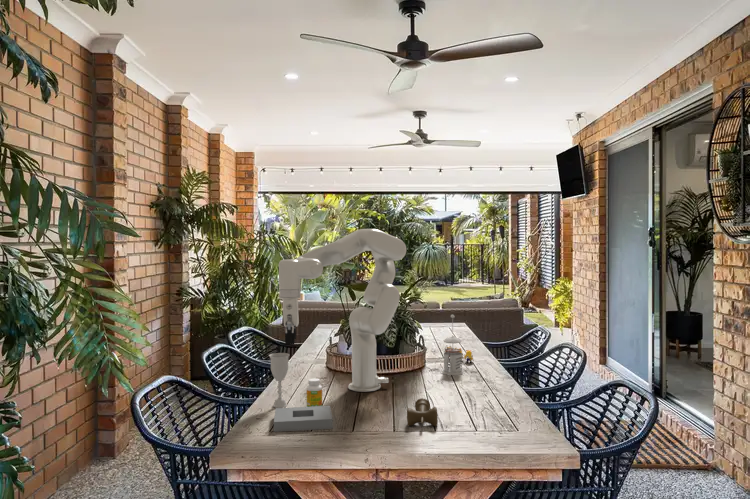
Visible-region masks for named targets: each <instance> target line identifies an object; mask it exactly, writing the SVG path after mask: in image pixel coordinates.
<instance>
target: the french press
mask: <svg viewBox="0 0 750 499" xmlns="http://www.w3.org/2000/svg"><path fill="white" fill-rule="evenodd" d="M455 317H456V316H455V315H454V314H450V318H452V320H451V321H452V324H451V325H452V330H451V331H452V333H454V319H455ZM443 342H444V343H445V344H460V343H462V342H463V340H462V339H461V338H460V337H456V336H449V337H447V338H444V339H443ZM448 347H449V348H448ZM451 347H452V346H451V345H449V346H448V345H446V346H445V348H444V352H443V370H442V371H441V373H442V374H444V375H448V376H449V375H450V376H458V375H459V376H460V375H463V374H465V372H464V370H463V362H461V361H462V360H463V359H460V358H462V356H463V355H462V353H463V352H462V353H460V351H461V350H462V349H461V350H460V348H457V347H452V349H451ZM447 348H448V349H447ZM456 348H457V349H456ZM445 351H446V352H445ZM448 357H449V358H448Z"/></svg>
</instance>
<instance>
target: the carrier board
mask: <svg viewBox="0 0 750 499" xmlns="http://www.w3.org/2000/svg"><path fill="white" fill-rule="evenodd" d="M332 414H333V413H332V408H331V405H322V406H313V407H307V406H298V407H297V406H296V407H295V406H294V407H282V408H276V407H275V411H274V418H273V432H291V431H292V432H293V431H309V430H312V431H313V430H314V431H315V430H326V429H327V430H328V429H329V430H330V429H332V430H333V424H334V423H333V415H332Z"/></svg>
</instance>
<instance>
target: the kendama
mask: <svg viewBox="0 0 750 499" xmlns="http://www.w3.org/2000/svg"><path fill="white" fill-rule="evenodd" d="M414 408H415V409H413V408H410V407H408V408H407V409H406V423H407V426H408V427H412V426H414V425H416V424H418V423H419V424H420V423H421V424H424V423H425V424H426V423H427V424H429V425H431V426H433V427H435V428H436V427H438V423H439V421H438V419H439V417H438V415H439V414H438V409H437V407H436V406H434V407H432V408H431V403H430V401H429V399H426V398H418V399H417V400H416V401H415V403H414Z"/></svg>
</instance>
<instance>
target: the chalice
mask: <svg viewBox="0 0 750 499" xmlns="http://www.w3.org/2000/svg"><path fill="white" fill-rule="evenodd" d="M268 356H269V358H270V371H271V373H272V374H271V375H272V376H273V378H274V380H275V381H276V382H278V384H277V389H278V390H277V394H278V397H277V398H276V399H275V400H274V402H273V405H272V407H273V408H275V409H276V408H287V407H288V404H287V402H286V399H285V398H284V397H283V396H282V393H283V391H282V388H283V385H282V381H284V380H285V378H286V376H287V374H288V370H289V357H290V353H286V352H274V353H270V354H268Z"/></svg>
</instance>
